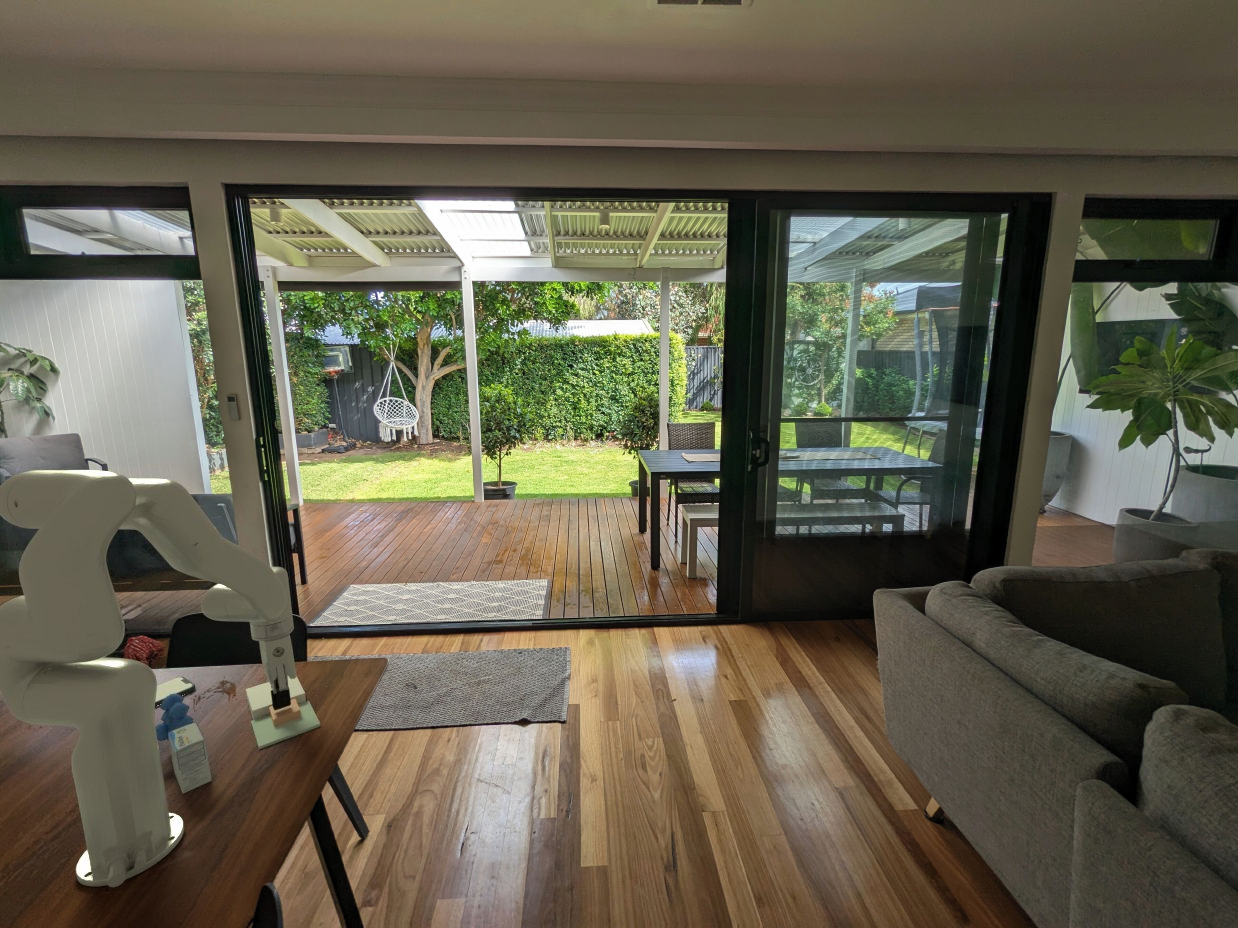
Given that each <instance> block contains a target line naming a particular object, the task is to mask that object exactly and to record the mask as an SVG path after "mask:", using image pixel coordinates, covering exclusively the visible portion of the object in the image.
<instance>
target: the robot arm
mask: <svg viewBox="0 0 1238 928" xmlns="http://www.w3.org/2000/svg"><path fill="white" fill-rule="evenodd" d="M0 517H2V518H3V520H5V521H7V523H9V524H11V525H13V526H16V527H19V528H21V529H22V528H23V529H29V530H31V529H32V530H33V529H35V530H37V531H36V533H35V534H34V535H33V537H32V538H31V539H30V541H29V543H28V544H27V546H26V547H25V550H24V551H23V553H22V556H21V558H20V561H19V563H18V564H19V565H18V577H19V582H20V586H21V589H22V594H23V595H20V596H16V597H14V598H12V599H10V600H8V601H6V602H4V603H2V604H1V605H0V694H1V696H2V699H3V700H4V702H5V705H6V706H7V708H8V710H9V711H10V712H11V714H12V716H14V717H15V718H16V719H17V720H19V721H22V722H23V723H26V724H30V725H37V726H55V727H56V726H57V727H64V728H75V729H77V731H78V732H79V734H78V739H77V742H76V744H75V746H74V748H73V751H72V754H71V761H70V763H71V765H70V766H71V773H72V778H73V780H74V786H75V791H76V797H77V802H78V807H79V813H80V818H81V822H82V823H81V824H82V829H83V834H84V839H85V845H86V850H85V851H84V852H83V854H81V855H82V856H80V858H79V860H78V862H77V864H76V866H75V876H76V879H77V882H78V883H80V884H81V885H83V886H86V887H103V886H104V887H105V886H108V887H110V888H115V887H118V886H120V885H122V884H124V882H125V881H126V880H128V879H130V878H133V877H134V876H137V875H139V874H140V873H143V872H144V871H146V870H148V869H150V868H152V867H153V866H154V865H156V864H157V863H158V862H160V861H162V860H163V858H166V856H167V855H169V854H170V853H171V852H172V851H173V849H174V848H176V847H177V845H178V844H179V843H180V841H181V840H182V838H183V835H184V832H185V823H184V819H183V818H182V817H181V816H180V815H179V814H176V813H173V812H172V813H171V812H170V811H169V805H168V799H167V793H166V791H167V790H166V786H165V779H164V773H163V767H162V760H161V754H160V748H159V743H158V740H157V736H156V728H155V727H156V720H155V719H156V718H155V712H156V711H155V709H156V707H155V700H156V692H157V685H158V682H157V680H158V679H157V677H156V674H155V672H154V670H153V669H152V668H151V667H149V665H148V664H145V663H143V662H142V661H139V660H134V659H131V658H124V657H123V658H121V657H107V656H108V655H110V654H112V653H114V652H115V651H116V650H117V649H119V646H120V645H121V644H122V642H123V640H124V637H125V634H126V633H125V631H126V630H125V628H126V627H125V619H124V617H123V613H122V610H121V607H120V603H119V601H118V598H117V595H116V591H115V589H114V586H113V585H114V584H113V583H112V580H111V576H110V572H109V569H108V564H107V563H108V562H107V553H108V549H109V546H110V544H111V542H112V540H113V538H114V536H115V535H116V533H117V532H118V530H136V531H137V532H139V533H141V534H142V535H143V536H144V537H145V539H146V540H148V541H147V542H149V543H150V544H151V545H152V546H153V548H154V549H155V550H156V551H157V552H158V554H160V556H161V557H162V558H163V559H164V560H165V561H166V562H167V563H168V564H169V566H170V567H171V568H173V569H174V570H175V571H178V572H181V573H182V574H186V575H188V576H191V577H194V578H197V579H200V580H203V581H204V580H205V581H209V582H212V583H214V584H215V585H213V586H212V587H210V588H209V589H208V590H207V591H206V592H205V593H204V595H203V597H202V599H201V601H200V609H201V612H202V614H203V615H204V616H205V617H207V618H208V619H211V620H213V621H217V622H218V621H219V622H248V623H249V625H250V633H251V639H252V640H253V641H255V642H256V641H257V642H258V643H259V650H260V656H261V662H262V667H263V670H264V672H265V675H266V676H265V677H266V679H267V682H269V683H270V685H271V689H273V690H271V698H272V706H273V709H274V710H278V709H281V708H284V707H287V706H290V705H291V699H290V690H289V687H288V677H287V676H289V677H290V679H295V678H296V676H297V677H298V675H297V669H296V664H295V663H296V662H295V658H294V650H293V643H292V639H291V636H290V634H291V633H292V632H293V631H294V629H295V627H294V618H293V610H292V602H291V601H292V600H291V599H292V598H291V591H290V590H291V589H290V583H289V576H288V575H289V574H288V572H287V570H286V568H284V567H281V566H270V565H269V564H267V562H265V561H264V560H262V559H261V558H260V557H258V556H256V555H255V554H253V553H251V552H250V551H247V550H246V549H245V548H243V547H241V546H239V545H238V544H236V543H234V542H232V541H230V540H229V539H227V538H225V537H224V536H223V535H222V534H221V533H220V531H219V530H218V528H217V527H216V526H215V525H214V524H213V522H212V521H211V520H210V519H209V517H208V516H207V514H206V513H205V512H204V510H203V509H202V508H201V506H200V505H199V504H198V502H197V501H196V500H195V498H193V496H192V495H191V493H190V492H189V491H188V490H187V488H185V487H184V486H183V484H182V483H181V484H180V483H179V482H177V481H174V480H171V479H167V478H154V477H153V478H149V477H148V478H147V477H145V478H143V477H142V478H133V477H132V478H129V477H127V476H125V475H122V474H120V473H118V472H113V471H107V470H99V469H97V470H96V469H68V470H67V469H65V470H64V469H63V470H62V469H61V470H59V469H55V470H53V469H49V470H47V469H39V470H38V469H36V470H35V469H33V470H28V471H24V472H20V473H16V474H15V475H13V476H11V477H9V478H8V479H6V480H5V481H4V482H2V484H0Z"/></svg>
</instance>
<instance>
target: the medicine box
mask: <svg viewBox="0 0 1238 928" xmlns="http://www.w3.org/2000/svg"><path fill="white" fill-rule="evenodd" d="M194 722H195V721H194ZM168 738H169V741H168V744H169V749H170V755H171V762H172V767H173V772H174V775H175V777H176V780H177V783H178V786H179V787H180V790H181V793H182V794H186V793H188V792H190V791H192V790H195V789H197V788H199V787H201V786H203V785H206V784H208V783H210V782H212V780H213V779H212V774H211V768H210V762H209V761H210V760H209V756H208V750H207V743H206V740H205V737H204V735H203V733H202V731H201V729H200V727H199V724H198V723H197V722H195V723H192V724H189V725H186V726H183V727H181V728H178V729H176V730H173V731H171V732H169V733H168Z"/></svg>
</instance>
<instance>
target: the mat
mask: <svg viewBox="0 0 1238 928" xmlns="http://www.w3.org/2000/svg"><path fill="white" fill-rule="evenodd" d="M298 706H299V708H300V712H301V717H299V718H296V719H293V720H291V721H288V722H285V723H282V724H279V725H277V726H274V725H273V722H272V719H271V716H270V714H269V715H267V716H264V717H261V718H258V719H255V720H253V719H252V720H250V724H251V727H252V730H253V734H254V737H255V741H256V744H257V748H258V750H261V749H264V748H267V747H269V746H272V745H275V744H276V743H280V742H282V741H284V740H285V741H286V740H288V739H290V738H293V737H296V736H299V735H300V734H304V733H306V732H308V731H311V730H314V729H317V728H319V727H321V722H320V720H319V719H318V716H317V714H316V712H315V711H314V708H313V706H312V704H311V702H310V700H306V702H304V703H301V704H298Z"/></svg>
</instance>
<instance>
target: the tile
mask: <svg viewBox="0 0 1238 928" xmlns="http://www.w3.org/2000/svg"><path fill="white" fill-rule="evenodd" d="M269 713H270V716H271V719H272V722H273V725H274V726H277V725H279V724H282V723H285V722H288V721H291V720H293V719H296V718H299V717H301V712H300V708H299V706H298V704H297V701H296V699H295V698H293V699H291V705H290V706H287V707H284V708H281V709H278V710H274V709H273V706H269Z"/></svg>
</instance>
